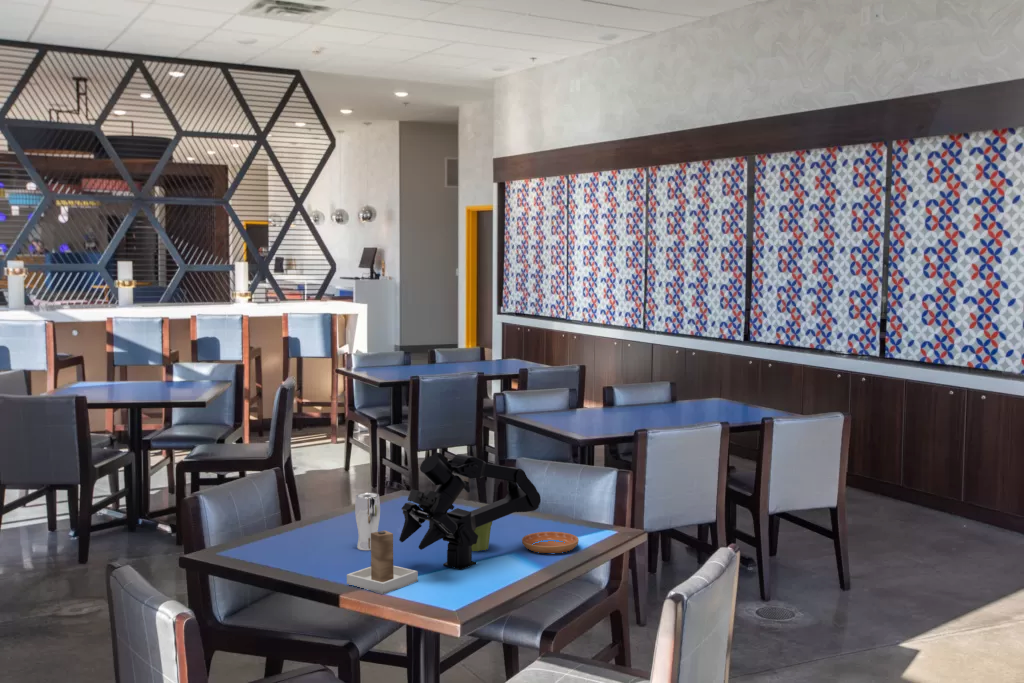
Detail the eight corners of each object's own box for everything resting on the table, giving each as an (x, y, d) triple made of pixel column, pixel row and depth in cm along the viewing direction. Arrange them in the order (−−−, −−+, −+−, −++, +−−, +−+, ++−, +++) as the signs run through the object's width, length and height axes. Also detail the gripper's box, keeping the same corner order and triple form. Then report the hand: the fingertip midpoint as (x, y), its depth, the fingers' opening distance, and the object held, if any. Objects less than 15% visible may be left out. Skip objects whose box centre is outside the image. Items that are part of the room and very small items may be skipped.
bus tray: (382, 572, 247) (381, 562, 247) (417, 581, 240) (417, 571, 239) (346, 584, 237) (346, 574, 237) (383, 594, 230) (382, 583, 229)
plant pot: (454, 551, 267) (454, 520, 266) (470, 543, 275) (470, 513, 275) (484, 555, 263) (484, 524, 262) (499, 546, 271) (499, 516, 271)
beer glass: (380, 550, 268) (380, 497, 267) (355, 551, 267) (355, 498, 266) (380, 543, 275) (379, 492, 274) (355, 544, 273) (354, 493, 273)
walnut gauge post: (385, 577, 241) (384, 529, 240) (393, 581, 238) (393, 532, 237) (371, 580, 239) (370, 531, 238) (379, 584, 235) (379, 535, 235)
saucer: (512, 552, 266) (512, 541, 266) (537, 538, 281) (537, 528, 280) (564, 559, 259) (564, 548, 259) (587, 545, 273) (587, 535, 273)
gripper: (406, 471, 253) (371, 519, 246) (446, 482, 238) (409, 533, 232) (432, 496, 258) (398, 544, 252) (472, 508, 243) (437, 559, 237)
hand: (409, 545), depth 243 cm, fingers open, 9 cm apart
